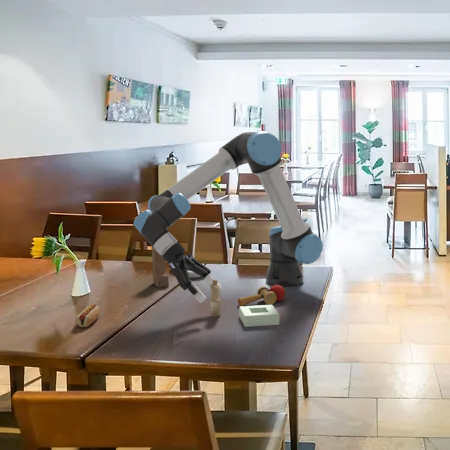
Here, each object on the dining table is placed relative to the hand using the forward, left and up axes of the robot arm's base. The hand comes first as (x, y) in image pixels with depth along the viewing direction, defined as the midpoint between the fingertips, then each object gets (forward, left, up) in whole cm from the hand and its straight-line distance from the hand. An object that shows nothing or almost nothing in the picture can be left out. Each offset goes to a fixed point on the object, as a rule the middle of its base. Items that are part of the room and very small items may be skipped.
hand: (211, 295), depth 206 cm
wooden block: (+16, -46, -7) cm, 49 cm away
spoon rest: (+4, -64, -7) cm, 64 cm away
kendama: (-19, -12, -7) cm, 24 cm away
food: (+41, 0, -7) cm, 41 cm away
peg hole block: (-14, +6, -7) cm, 17 cm away
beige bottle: (-1, 0, -7) cm, 7 cm away
